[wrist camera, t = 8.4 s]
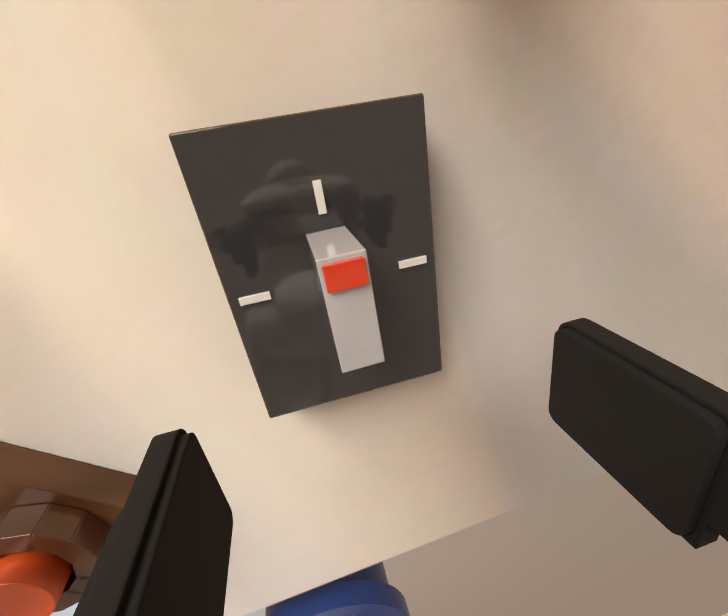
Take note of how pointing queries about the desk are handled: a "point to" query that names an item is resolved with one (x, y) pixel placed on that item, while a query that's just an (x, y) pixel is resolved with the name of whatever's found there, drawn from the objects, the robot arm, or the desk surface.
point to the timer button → (31, 583)
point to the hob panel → (313, 214)
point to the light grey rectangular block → (347, 297)
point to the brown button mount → (58, 510)
